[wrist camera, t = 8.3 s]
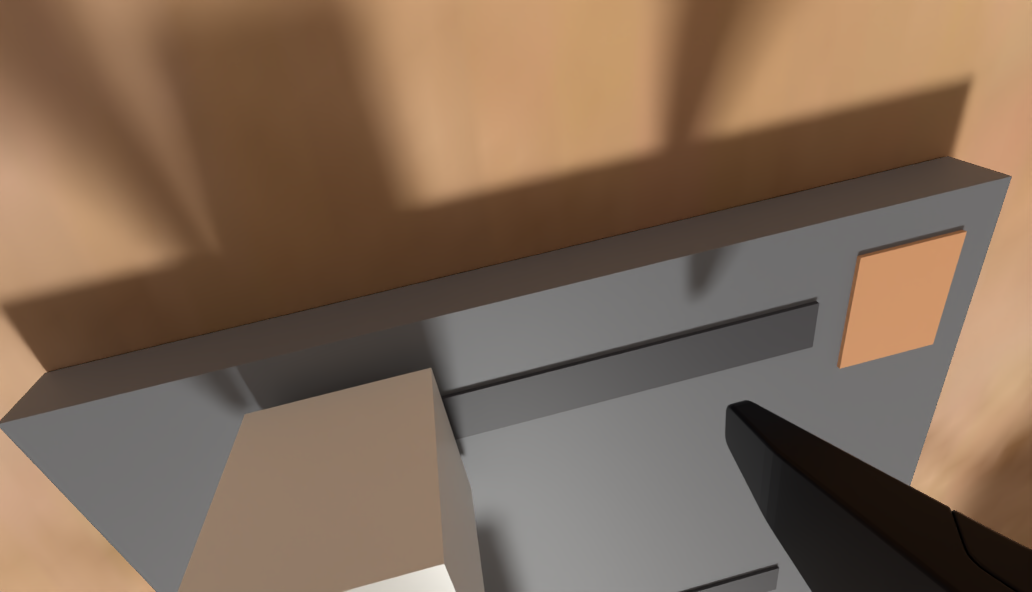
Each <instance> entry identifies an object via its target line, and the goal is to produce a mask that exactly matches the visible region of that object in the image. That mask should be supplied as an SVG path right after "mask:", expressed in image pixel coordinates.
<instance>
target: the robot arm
mask: <svg viewBox="0 0 1032 592" xmlns="http://www.w3.org/2000/svg"><path fill="white" fill-rule="evenodd" d="M725 439H726V443H727V446H728V448H729V450H730V452H731V454H732V456H733V458H734V460H735V462H736V464H737V466H738V468H739V470H740V472H741V474H742V476H743V478H744V479H745V481H746V483H747V485H748V487H749V489H750V491H751V493H752V495H753V497H754V499H755V501H756V503H757V505H758V507H759V509H760V511H761V513H762V514H763V516H764V518H765V520H766V522H767V523H768V525H769V527H770V528H771V530H772V531H773V533H774V535H775V536H776V538H777V539H778V541H779V542H780V544H781V545H782V547H783V548H784V550H785V551H786V553H787V555H788V556H789V558H790V559H791V561H792V562H793V564H794V565H795V567H796V568H797V570H798V571H799V573H800V575H801V576H802V578H803V579H804V581H805V582H806V584H807V585H808V587H809V588H810V590H811V591H812V592H1032V550H1031V549H1029V548H1027V547H1025V546H1023V545H1021V544H1019V543H1017V542H1015V541H1013V540H1011V539H1009V538H1007V537H1005V536H1003V535H1002V534H1000V533H998V532H996V531H994V530H992V529H990V528H988V527H986V526H984V525H982V524H980V523H978V522H976V521H975V520H973V519H971V518H969V517H967V516H965V515H963V514H961V513H960V512H958V511H955V510H953V511H951V509H950V508H949V507H948V506H946V505H944V504H942V503H941V502H939V501H937V500H935V499H933V498H931V497H929V496H928V495H926V494H924V493H922V492H920V491H918V490H916V489H914V488H913V487H911V486H909V485H907V484H905V483H903V482H901V481H900V480H898V479H896V478H894V477H892V476H890V475H888V474H887V473H885V472H883V471H881V470H879V469H877V468H875V467H873V466H872V465H870V464H868V463H866V462H864V461H862V460H860V459H859V458H857V457H855V456H853V455H851V454H849V453H847V452H845V451H844V450H842V449H840V448H838V447H836V446H834V445H832V444H831V443H829V442H827V441H825V440H823V439H821V438H819V437H817V436H816V435H814V434H812V433H810V432H808V431H806V430H804V429H803V428H801V427H799V426H797V425H795V424H793V423H791V422H789V421H788V420H786V419H784V418H782V417H780V416H778V415H776V414H775V413H773V412H771V411H769V410H767V409H765V408H763V407H761V406H760V405H758V404H756V403H754V402H752V401H749V400H744V401H740V402H736V403H732V404H730V405H728V406H727V408H726V417H725Z"/></svg>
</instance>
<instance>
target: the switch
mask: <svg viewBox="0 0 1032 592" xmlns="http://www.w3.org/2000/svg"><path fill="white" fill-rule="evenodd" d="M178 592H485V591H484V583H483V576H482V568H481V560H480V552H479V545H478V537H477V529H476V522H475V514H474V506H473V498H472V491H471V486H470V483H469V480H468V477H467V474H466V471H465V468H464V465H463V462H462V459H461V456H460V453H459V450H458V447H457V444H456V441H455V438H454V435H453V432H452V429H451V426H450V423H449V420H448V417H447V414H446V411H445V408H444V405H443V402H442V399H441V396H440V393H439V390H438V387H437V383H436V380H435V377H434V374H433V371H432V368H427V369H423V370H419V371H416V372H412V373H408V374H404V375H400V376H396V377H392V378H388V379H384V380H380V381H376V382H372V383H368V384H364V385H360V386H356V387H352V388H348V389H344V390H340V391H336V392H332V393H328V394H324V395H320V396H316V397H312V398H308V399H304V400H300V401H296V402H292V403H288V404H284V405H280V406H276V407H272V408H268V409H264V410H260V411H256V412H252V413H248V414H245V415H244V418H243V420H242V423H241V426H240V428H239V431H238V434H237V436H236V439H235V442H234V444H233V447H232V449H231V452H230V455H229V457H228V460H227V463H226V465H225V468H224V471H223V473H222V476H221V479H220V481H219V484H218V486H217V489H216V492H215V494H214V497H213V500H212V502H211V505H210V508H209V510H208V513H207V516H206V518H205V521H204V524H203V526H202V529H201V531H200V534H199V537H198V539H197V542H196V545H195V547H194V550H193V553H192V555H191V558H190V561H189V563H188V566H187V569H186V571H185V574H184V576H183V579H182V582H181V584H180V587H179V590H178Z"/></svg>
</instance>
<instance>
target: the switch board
mask: <svg viewBox="0 0 1032 592" xmlns="http://www.w3.org/2000/svg"><path fill="white" fill-rule="evenodd" d="M1011 177H1012V176H1009V175H1006V174H1003V173H1000V172H997V171H993V170H990V169H987V168H984V167H981V166H977V165H974V164H971V163H968V162H965V161H961V160H958V159H955V158H952V157H949V156H947V157H943V158H939V159H934V160H930V161H926V162H922V163H918V164H914V165H909V166H905V167H901V168H897V169H893V170H889V171H884V172H880V173H876V174H872V175H868V176H864V177H859V178H855V179H851V180H847V181H843V182H839V183H834V184H830V185H826V186H822V187H818V188H814V189H809V190H805V191H801V192H797V193H793V194H789V195H784V196H780V197H776V198H772V199H768V200H764V201H759V202H755V203H751V204H747V205H743V206H739V207H734V208H730V209H726V210H722V211H718V212H714V213H709V214H705V215H701V216H697V217H693V218H689V219H684V220H680V221H676V222H672V223H668V224H664V225H659V226H655V227H651V228H647V229H643V230H639V231H634V232H630V233H626V234H622V235H618V236H614V237H609V238H605V239H601V240H597V241H593V242H589V243H584V244H580V245H576V246H572V247H568V248H564V249H559V250H555V251H551V252H547V253H543V254H539V255H534V256H530V257H526V258H522V259H518V260H514V261H509V262H505V263H501V264H497V265H493V266H489V267H484V268H480V269H476V270H472V271H468V272H464V273H459V274H455V275H451V276H447V277H443V278H439V279H434V280H430V281H426V282H422V283H418V284H414V285H409V286H405V287H401V288H397V289H393V290H389V291H384V292H380V293H376V294H372V295H368V296H364V297H359V298H355V299H351V300H347V301H343V302H339V303H334V304H330V305H326V306H322V307H318V308H314V309H309V310H305V311H301V312H297V313H293V314H289V315H284V316H280V317H276V318H272V319H268V320H264V321H259V322H255V323H251V324H247V325H243V326H239V327H234V328H230V329H226V330H222V331H218V332H214V333H209V334H205V335H201V336H197V337H193V338H188V339H184V340H180V341H176V342H172V343H168V344H163V345H159V346H155V347H151V348H147V349H143V350H138V351H134V352H130V353H126V354H122V355H118V356H113V357H109V358H105V359H101V360H97V361H93V362H88V363H84V364H80V365H76V366H72V367H68V368H63V369H59V370H55V371H51V372H47V373H45V374H44V375H43V376H42V377H41V378H40V379H39V380H38V381H37V382H36V383H35V384H34V385H33V386H32V387H31V388H30V390H29V391H28V392H27V393H26V394H25V395H24V396H23V397H22V398H21V399H20V400H19V401H18V402H17V403H16V404H15V406H14V407H13V408H12V409H11V410H10V411H9V412H8V413H7V414H6V415H5V416H4V417H3V418H2V419H1V421H0V428H1V429H2V430H3V431H4V433H5V434H6V435H7V436H8V437H9V438H10V439H11V440H12V441H13V442H14V443H15V444H16V445H17V446H18V447H19V448H20V449H21V450H22V451H23V452H24V453H25V455H26V456H27V457H28V458H29V459H30V460H31V461H32V462H33V463H34V464H35V465H36V466H37V467H38V468H39V469H40V470H41V471H42V472H43V473H44V474H45V476H46V477H47V478H48V479H49V480H50V481H51V482H52V483H53V484H54V485H55V486H56V487H57V488H58V489H59V490H60V491H61V492H62V493H63V494H64V495H65V496H66V498H67V499H68V500H69V501H70V502H71V503H72V504H73V505H74V506H75V507H76V508H77V509H78V510H79V511H80V512H81V513H82V514H83V515H84V516H85V517H86V518H87V520H88V521H89V522H90V523H91V524H92V525H93V526H94V527H95V528H96V529H97V530H98V531H99V532H100V533H101V534H102V535H103V536H104V537H105V538H106V539H107V540H108V542H109V543H110V544H111V545H112V546H113V547H114V548H115V549H116V550H117V551H118V552H119V553H120V554H121V555H122V556H123V557H124V558H125V559H126V560H127V561H128V562H129V564H130V565H131V566H132V567H133V568H134V569H135V570H136V571H137V572H138V573H139V574H140V575H141V576H142V577H143V578H144V579H145V580H146V581H147V582H148V583H149V585H150V586H151V587H152V588H153V589H154V590H155V591H156V592H178V590H179V587H180V584H181V582H182V579H183V576H184V574H185V571H186V569H187V566H188V563H189V561H190V558H191V555H192V553H193V550H194V547H195V545H196V542H197V539H198V537H199V534H200V531H201V529H202V526H203V524H204V521H205V518H206V516H207V513H208V510H209V508H210V505H211V502H212V500H213V497H214V494H215V492H216V489H217V486H218V484H219V481H220V479H221V476H222V473H223V471H224V468H225V465H226V463H227V460H228V457H229V455H230V452H231V449H232V447H233V444H234V442H235V439H236V436H237V434H238V431H239V428H240V426H241V423H242V420H243V418H244V415H245V414H248V413H252V412H256V411H260V410H264V409H268V408H272V407H276V406H280V405H284V404H288V403H292V402H296V401H300V400H304V399H308V398H312V397H316V396H320V395H324V394H328V393H332V392H336V391H340V390H344V389H348V388H352V387H356V386H360V385H364V384H368V383H372V382H376V381H380V380H384V379H388V378H392V377H396V376H400V375H404V374H408V373H412V372H416V371H419V370H423V369H427V368H432V371H433V374H434V377H435V380H436V383H437V387H438V390H439V393H440V396H441V399H442V402H443V405H444V408H445V411H446V414H447V417H448V420H449V423H450V426H451V429H452V432H453V435H454V438H455V441H456V444H457V447H458V450H459V453H460V456H461V459H462V462H463V465H464V468H465V471H466V474H467V477H468V480H469V483H470V486H471V491H472V498H473V506H474V514H475V522H476V529H477V537H478V545H479V552H480V560H481V568H482V576H483V583H484V591H485V592H812V591H811V590H810V588H809V587H808V585H807V584H806V582H805V581H804V579H803V578H802V576H801V575H800V573H799V571H798V570H797V568H796V567H795V565H794V564H793V562H792V561H791V559H790V558H789V556H788V555H787V553H786V551H785V550H784V548H783V547H782V545H781V544H780V542H779V541H778V539H777V538H776V536H775V535H774V533H773V531H772V530H771V528H770V527H769V525H768V523H767V522H766V520H765V518H764V516H763V514H762V513H761V511H760V509H759V507H758V505H757V503H756V501H755V499H754V497H753V495H752V493H751V491H750V489H749V487H748V485H747V483H746V481H745V479H744V478H743V476H742V474H741V472H740V470H739V468H738V466H737V464H736V462H735V460H734V458H733V456H732V454H731V452H730V450H729V448H728V446H727V443H726V439H725V417H726V408H727V406H728V405H730V404H732V403H736V402H740V401H744V400H749V401H752V402H754V403H756V404H758V405H760V406H761V407H763V408H765V409H767V410H769V411H771V412H773V413H775V414H776V415H778V416H780V417H782V418H784V419H786V420H788V421H789V422H791V423H793V424H795V425H797V426H799V427H801V428H803V429H804V430H806V431H808V432H810V433H812V434H814V435H816V436H817V437H819V438H821V439H823V440H825V441H827V442H829V443H831V444H832V445H834V446H836V447H838V448H840V449H842V450H844V451H845V452H847V453H849V454H851V455H853V456H855V457H857V458H859V459H860V460H862V461H864V462H866V463H868V464H870V465H872V466H873V467H875V468H877V469H879V470H881V471H883V472H885V473H887V474H888V475H890V476H892V477H894V478H896V479H898V480H900V481H901V482H903V483H905V484H907V485H909V486H910V484H911V481H912V478H913V475H914V472H915V469H916V466H917V463H918V460H919V457H920V454H921V451H922V448H923V445H924V442H925V439H926V436H927V433H928V430H929V427H930V423H931V420H932V417H933V414H934V411H935V408H936V405H937V402H938V399H939V396H940V393H941V390H942V387H943V384H944V381H945V378H946V375H947V372H948V369H949V366H950V363H951V360H952V357H953V354H954V351H955V348H956V344H957V341H958V338H959V335H960V332H961V329H962V326H963V323H964V320H965V317H966V314H967V311H968V308H969V305H970V302H971V299H972V296H973V293H974V290H975V287H976V284H977V281H978V278H979V275H980V272H981V269H982V265H983V262H984V259H985V256H986V253H987V250H988V247H989V244H990V241H991V238H992V235H993V232H994V229H995V226H996V223H997V220H998V217H999V214H1000V211H1001V208H1002V205H1003V202H1004V199H1005V196H1006V193H1007V189H1008V186H1009V183H1010V180H1011Z"/></svg>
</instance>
